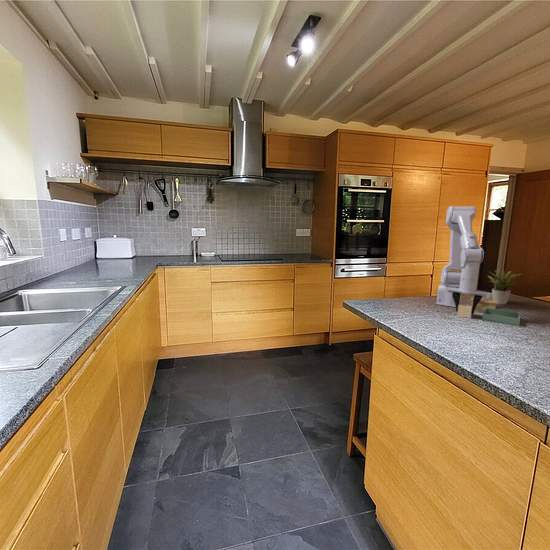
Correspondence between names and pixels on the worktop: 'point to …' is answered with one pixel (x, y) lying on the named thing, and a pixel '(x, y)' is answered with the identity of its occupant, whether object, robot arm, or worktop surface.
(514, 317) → the tray
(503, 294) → the house plant
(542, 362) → the worktop surface
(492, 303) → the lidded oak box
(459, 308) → the sandstone cube
